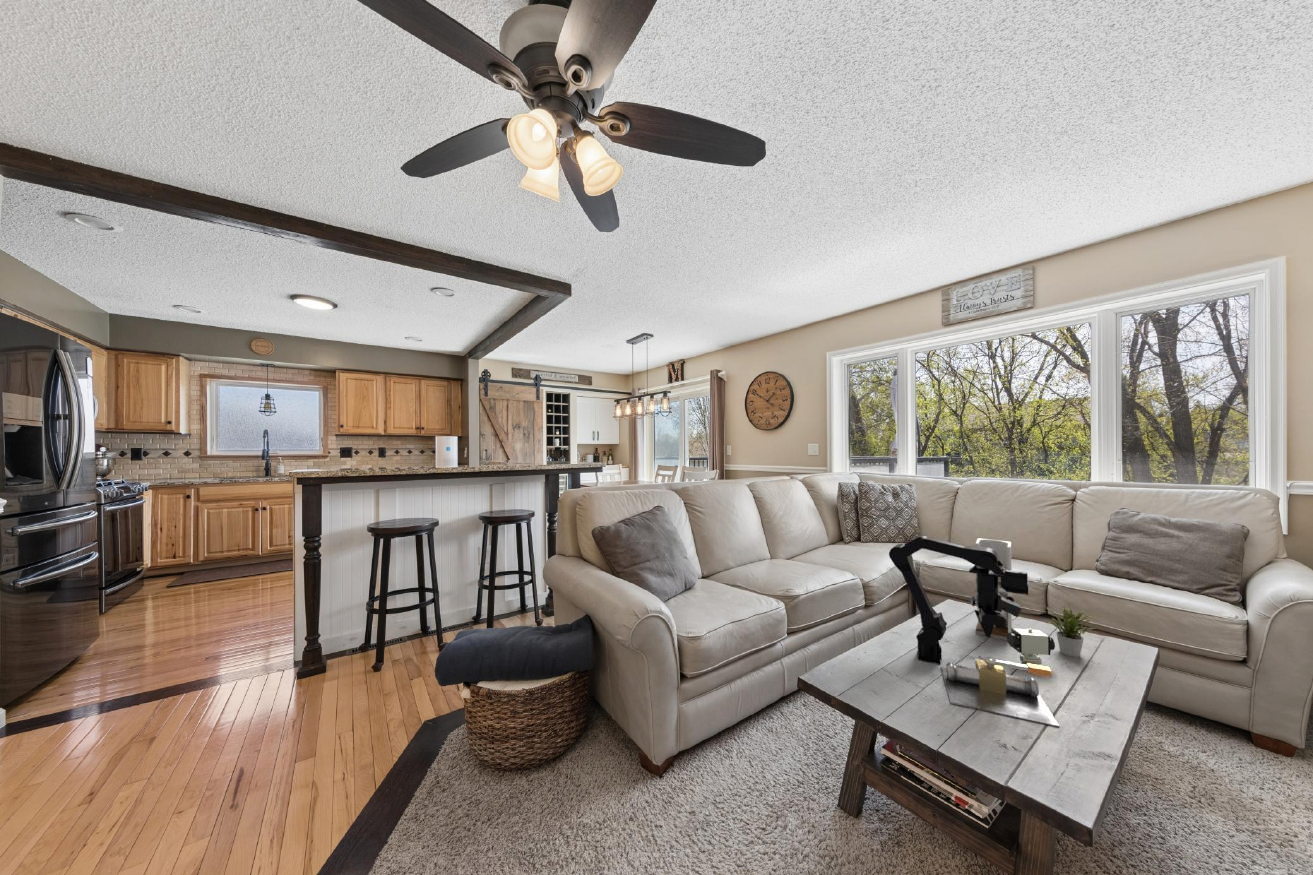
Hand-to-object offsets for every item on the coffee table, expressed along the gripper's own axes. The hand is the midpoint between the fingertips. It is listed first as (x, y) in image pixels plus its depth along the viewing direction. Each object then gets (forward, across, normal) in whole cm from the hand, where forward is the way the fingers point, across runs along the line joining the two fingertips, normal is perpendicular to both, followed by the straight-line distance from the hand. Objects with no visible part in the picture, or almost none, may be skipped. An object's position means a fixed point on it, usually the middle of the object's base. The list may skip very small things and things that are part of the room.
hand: (987, 637), depth 144 cm
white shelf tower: (+12, +39, -9) cm, 42 cm away
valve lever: (+5, -9, -5) cm, 12 cm away
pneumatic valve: (+12, +14, -14) cm, 23 cm away
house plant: (+12, +29, -30) cm, 43 cm away
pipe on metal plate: (+12, -13, +1) cm, 18 cm away
